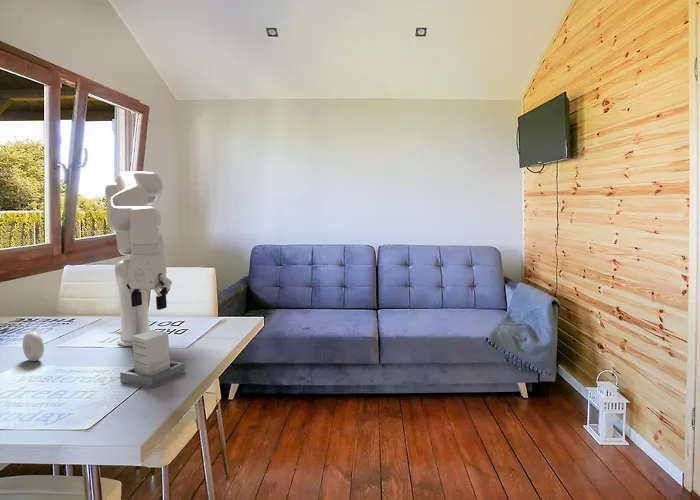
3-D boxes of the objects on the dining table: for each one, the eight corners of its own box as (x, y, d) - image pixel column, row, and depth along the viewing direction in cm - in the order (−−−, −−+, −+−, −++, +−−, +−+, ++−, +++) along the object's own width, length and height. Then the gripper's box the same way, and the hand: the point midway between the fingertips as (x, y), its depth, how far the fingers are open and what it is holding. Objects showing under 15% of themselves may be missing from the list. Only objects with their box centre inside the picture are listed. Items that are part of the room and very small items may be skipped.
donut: (47, 362, 142) (44, 332, 141) (35, 365, 139) (32, 335, 138) (33, 356, 147) (31, 328, 146) (22, 359, 144) (19, 330, 143)
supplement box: (156, 368, 133) (154, 329, 132) (171, 373, 129) (169, 333, 128) (134, 376, 127) (131, 335, 126) (148, 382, 123) (145, 339, 122)
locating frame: (120, 382, 125) (120, 372, 124) (154, 367, 136) (153, 358, 136) (152, 388, 120) (152, 378, 120) (184, 372, 132) (184, 363, 131)
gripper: (113, 250, 124) (116, 307, 126) (158, 252, 117) (161, 313, 119) (134, 247, 131) (138, 302, 133) (178, 249, 124) (181, 307, 126)
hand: (149, 307), depth 126 cm, fingers open, 9 cm apart
